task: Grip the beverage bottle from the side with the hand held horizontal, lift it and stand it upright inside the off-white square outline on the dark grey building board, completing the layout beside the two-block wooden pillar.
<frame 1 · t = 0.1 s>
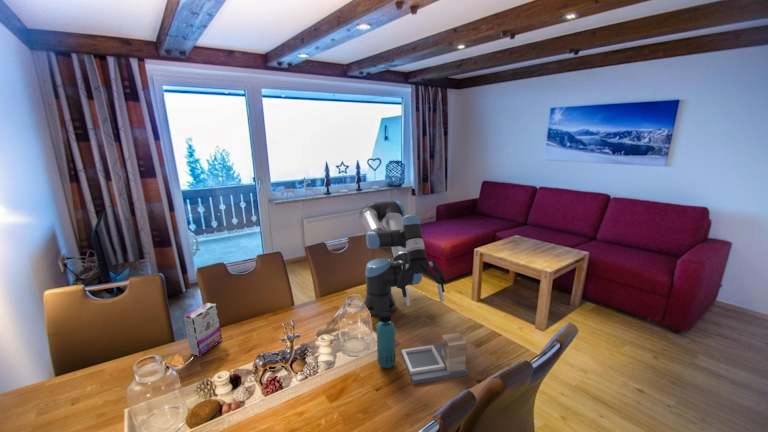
hand: (425, 303, 128), 15 cm above the table, tool tilted 35°, fingers open, 13 cm apart
wooden pillar: (453, 368, 114), resting on building board
candy bar box: (206, 348, 130), on the table
building board: (432, 364, 117), on the table
beverage bottle: (386, 366, 117), on the table
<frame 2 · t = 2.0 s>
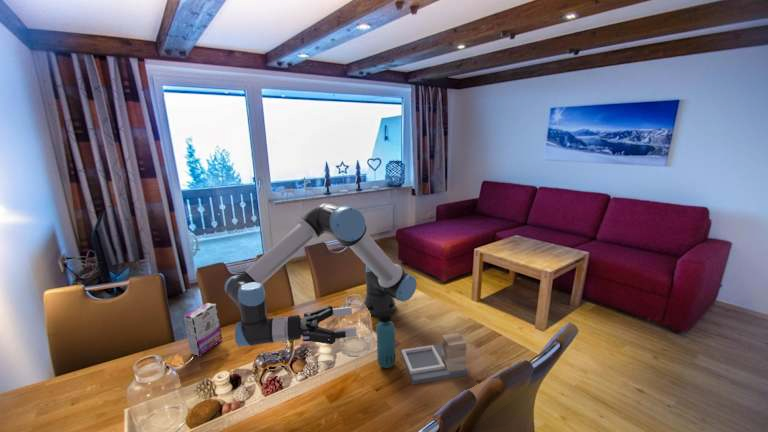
hand: (353, 320, 110), 19 cm above the table, tool horizontal, fingers open, 13 cm apart
nothing on the table moved.
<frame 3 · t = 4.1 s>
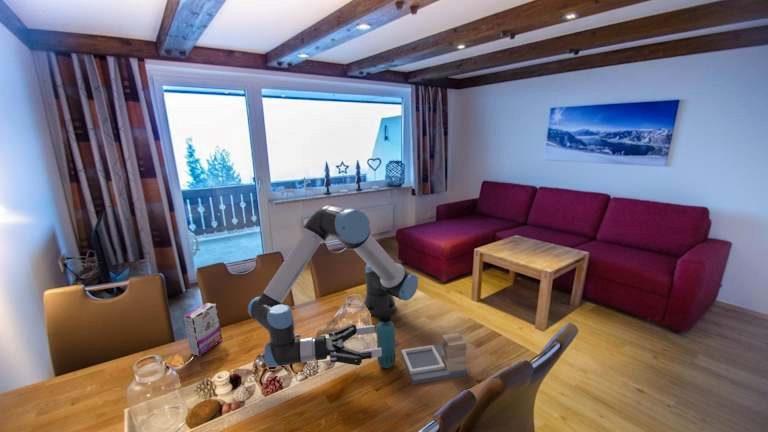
hand: (377, 339, 113), 11 cm above the table, tool horizontal, fingers open, 13 cm apart
nothing on the table moved.
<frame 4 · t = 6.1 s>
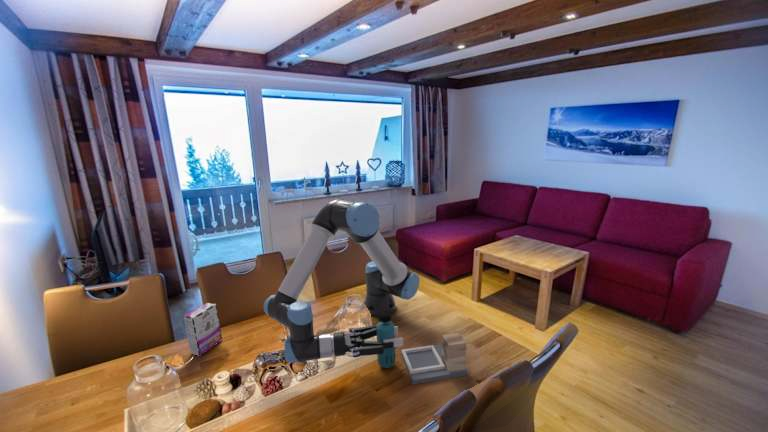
hand: (399, 335, 115), 11 cm above the table, tool horizontal, fingers closed on beverage bottle, 6 cm apart
beverage bottle: (386, 366, 117), on the table, touching gripper
everything else where it was.
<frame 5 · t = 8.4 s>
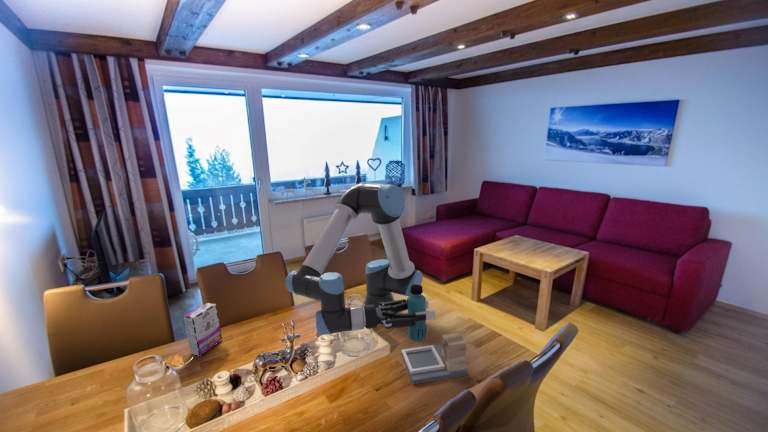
hand: (431, 309, 113), 21 cm above the table, tool horizontal, fingers closed on beverage bottle, 6 cm apart
beverage bottle: (417, 340, 114), point 10 cm above the table, touching gripper
everything else where it was.
when the fingers open (13 cm above the table, at t = 10.7 s): beverage bottle stays where it is, resting on building board.
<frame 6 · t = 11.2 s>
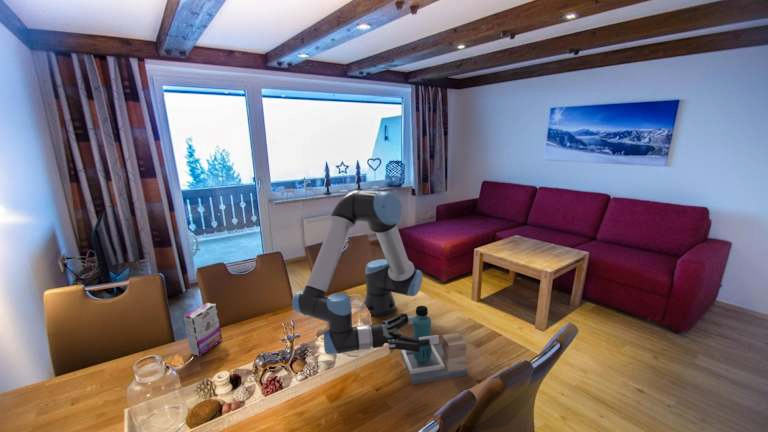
hand: (431, 328, 114), 13 cm above the table, tool horizontal, fingers open, 13 cm apart
beverage bottle: (422, 360, 117), point 1 cm above the table, touching building board
everything else where it was.
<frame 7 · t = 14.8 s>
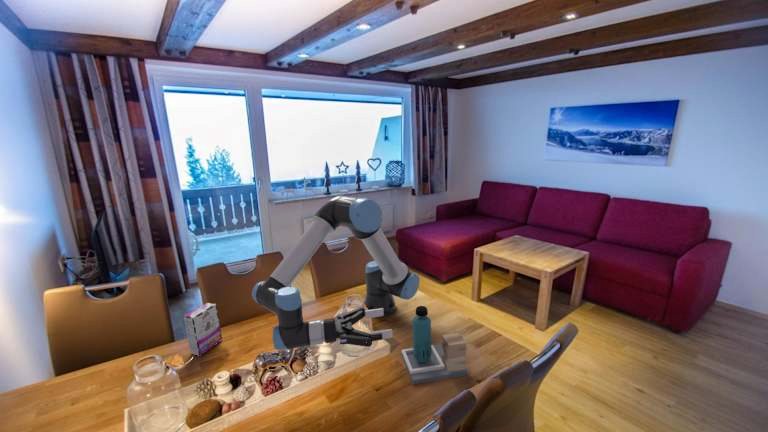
hand: (387, 321, 111), 18 cm above the table, tool horizontal, fingers open, 13 cm apart
nothing on the table moved.
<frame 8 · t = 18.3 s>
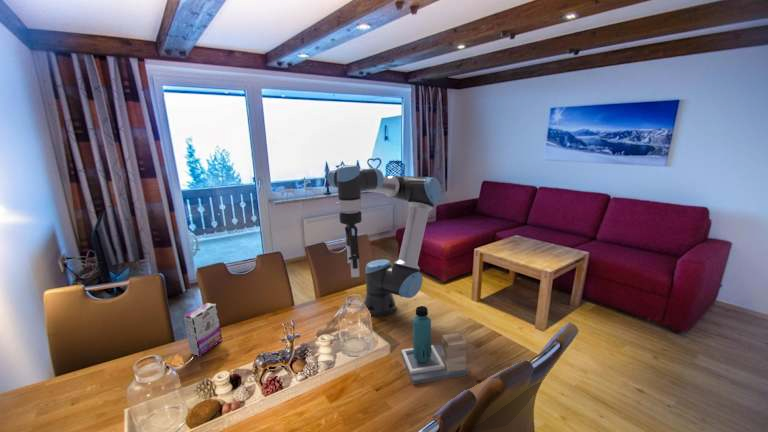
hand: (353, 269, 118), 33 cm above the table, tool pointing down, fingers open, 13 cm apart
nothing on the table moved.
at the end: beverage bottle 0.1 cm from the target spot, point 1.3 cm above the table; beverage bottle tilted 0°; the gripper is holding nothing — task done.
